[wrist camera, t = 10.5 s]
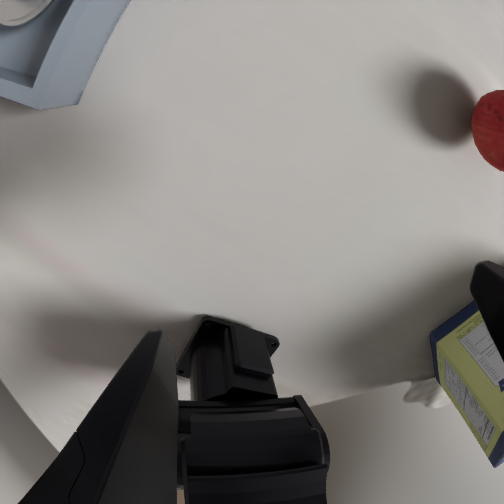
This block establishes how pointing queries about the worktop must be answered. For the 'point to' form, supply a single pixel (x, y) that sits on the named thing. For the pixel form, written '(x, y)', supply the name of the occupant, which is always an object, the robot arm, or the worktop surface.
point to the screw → (22, 11)
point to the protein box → (472, 377)
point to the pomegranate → (490, 128)
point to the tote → (56, 52)
